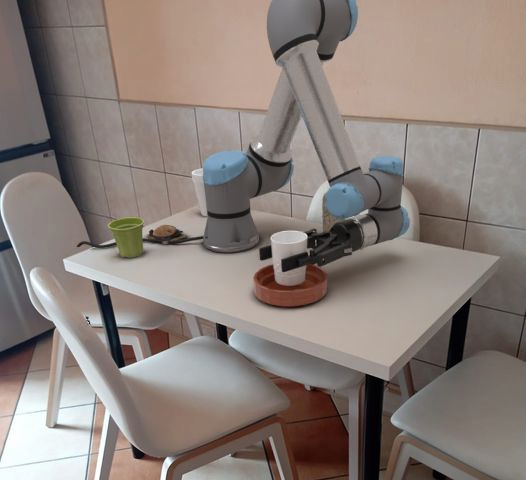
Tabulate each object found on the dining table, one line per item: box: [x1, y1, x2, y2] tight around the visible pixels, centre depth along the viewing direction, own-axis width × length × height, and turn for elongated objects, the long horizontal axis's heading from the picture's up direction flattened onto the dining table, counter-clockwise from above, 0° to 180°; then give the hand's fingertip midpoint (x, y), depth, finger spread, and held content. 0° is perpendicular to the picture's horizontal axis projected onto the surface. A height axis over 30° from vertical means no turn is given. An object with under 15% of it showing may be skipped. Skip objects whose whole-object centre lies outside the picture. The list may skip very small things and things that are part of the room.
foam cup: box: [191, 167, 207, 217], centre depth 178 cm, size 10×9×13 cm
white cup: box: [270, 230, 308, 286], centre depth 125 cm, size 8×8×10 cm
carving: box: [321, 191, 346, 232], centre depth 154 cm, size 6×8×12 cm
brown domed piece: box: [146, 224, 188, 246], centre depth 163 cm, size 11×8×4 cm
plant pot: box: [107, 216, 145, 259], centre depth 152 cm, size 9×9×9 cm
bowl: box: [252, 263, 328, 307], centre depth 128 cm, size 16×16×4 cm
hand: (271, 260), depth 122 cm, fingers closed on white cup, 8 cm apart
